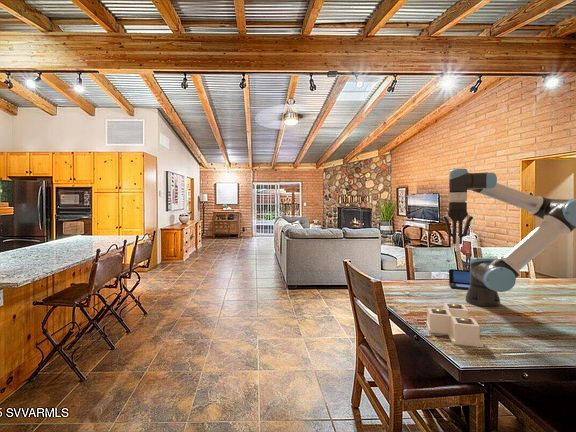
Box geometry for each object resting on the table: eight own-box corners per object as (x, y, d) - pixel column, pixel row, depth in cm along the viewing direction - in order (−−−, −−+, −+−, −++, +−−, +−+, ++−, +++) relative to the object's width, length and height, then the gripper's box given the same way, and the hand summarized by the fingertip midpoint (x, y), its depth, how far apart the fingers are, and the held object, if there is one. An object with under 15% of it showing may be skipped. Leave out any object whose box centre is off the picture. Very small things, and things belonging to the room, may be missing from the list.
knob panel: (465, 320, 139) (465, 303, 138) (483, 347, 113) (483, 327, 112) (424, 316, 144) (424, 300, 143) (432, 341, 118) (432, 322, 118)
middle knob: (444, 323, 131) (444, 308, 130) (445, 327, 127) (446, 312, 126) (432, 322, 132) (432, 307, 132) (434, 326, 128) (434, 311, 128)
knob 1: (459, 317, 137) (459, 303, 136) (462, 321, 132) (462, 307, 132) (448, 316, 138) (448, 302, 138) (450, 320, 134) (450, 306, 133)
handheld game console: (450, 288, 188) (450, 273, 187) (448, 283, 200) (448, 268, 200) (480, 291, 182) (481, 275, 181) (476, 285, 194) (476, 270, 194)
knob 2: (469, 333, 120) (469, 317, 120) (472, 338, 116) (472, 322, 116) (456, 332, 122) (456, 316, 121) (459, 337, 118) (459, 320, 117)
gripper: (444, 201, 148) (443, 251, 149) (475, 201, 144) (474, 252, 145) (441, 201, 155) (440, 249, 156) (471, 201, 151) (470, 250, 152)
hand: (457, 250), depth 151 cm, fingers closed
